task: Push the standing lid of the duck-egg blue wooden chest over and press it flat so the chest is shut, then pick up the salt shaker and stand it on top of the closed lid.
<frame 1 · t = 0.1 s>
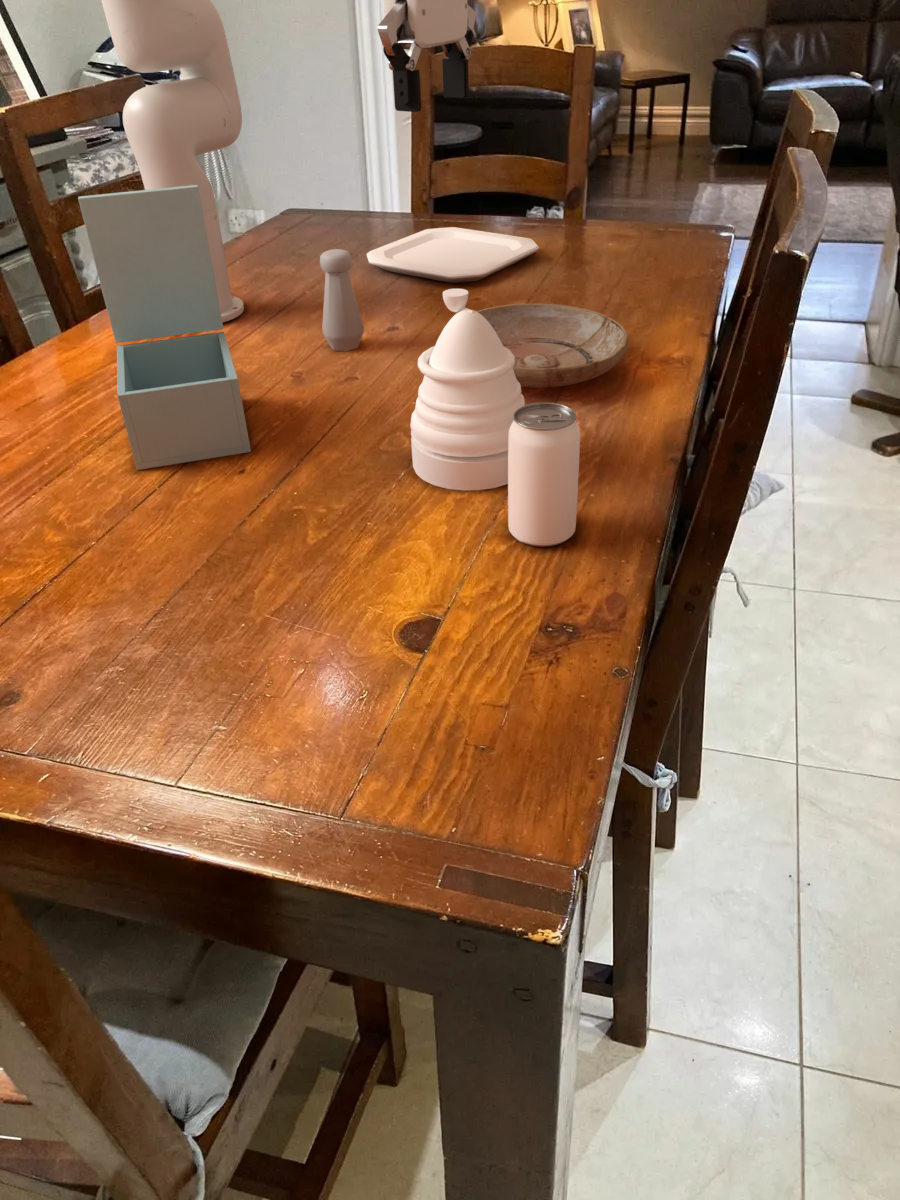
hand: (432, 104, 106), 31 cm above the table, tool pointing down, fingers open, 9 cm apart
salt shaker: (345, 347, 132), on the table
honey pot: (471, 463, 102), on the table
plate: (453, 263, 164), on the table
lid: (155, 266, 106), point 17 cm above the table, hinge at 85.0°
chest: (189, 432, 111), on the table
ceramic bowl: (536, 370, 123), on the table
can: (541, 532, 90), on the table
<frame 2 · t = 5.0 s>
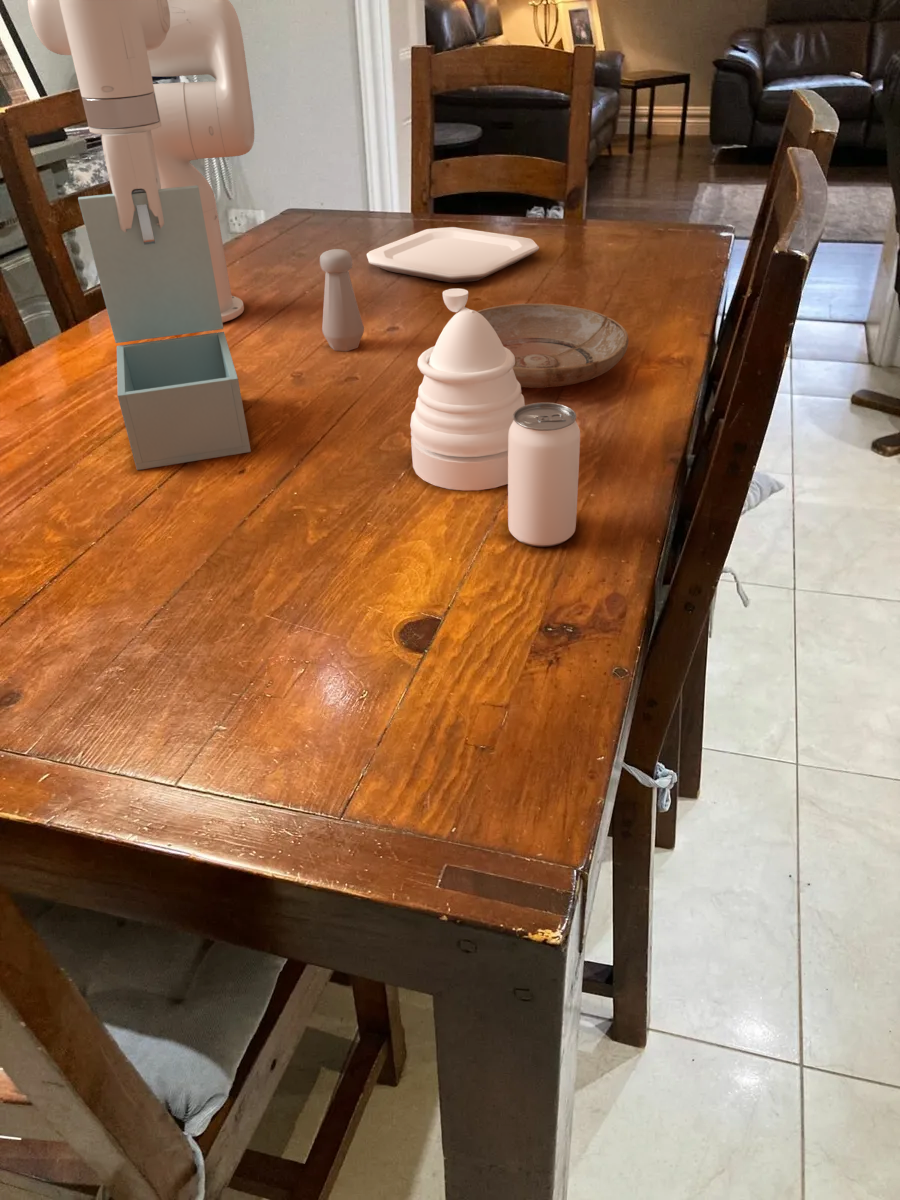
hand: (159, 286, 110), 14 cm above the table, tool pointing down, fingers closed
lid: (155, 267, 106), point 17 cm above the table, hinge at 84.2°, touching gripper
everything else where it was.
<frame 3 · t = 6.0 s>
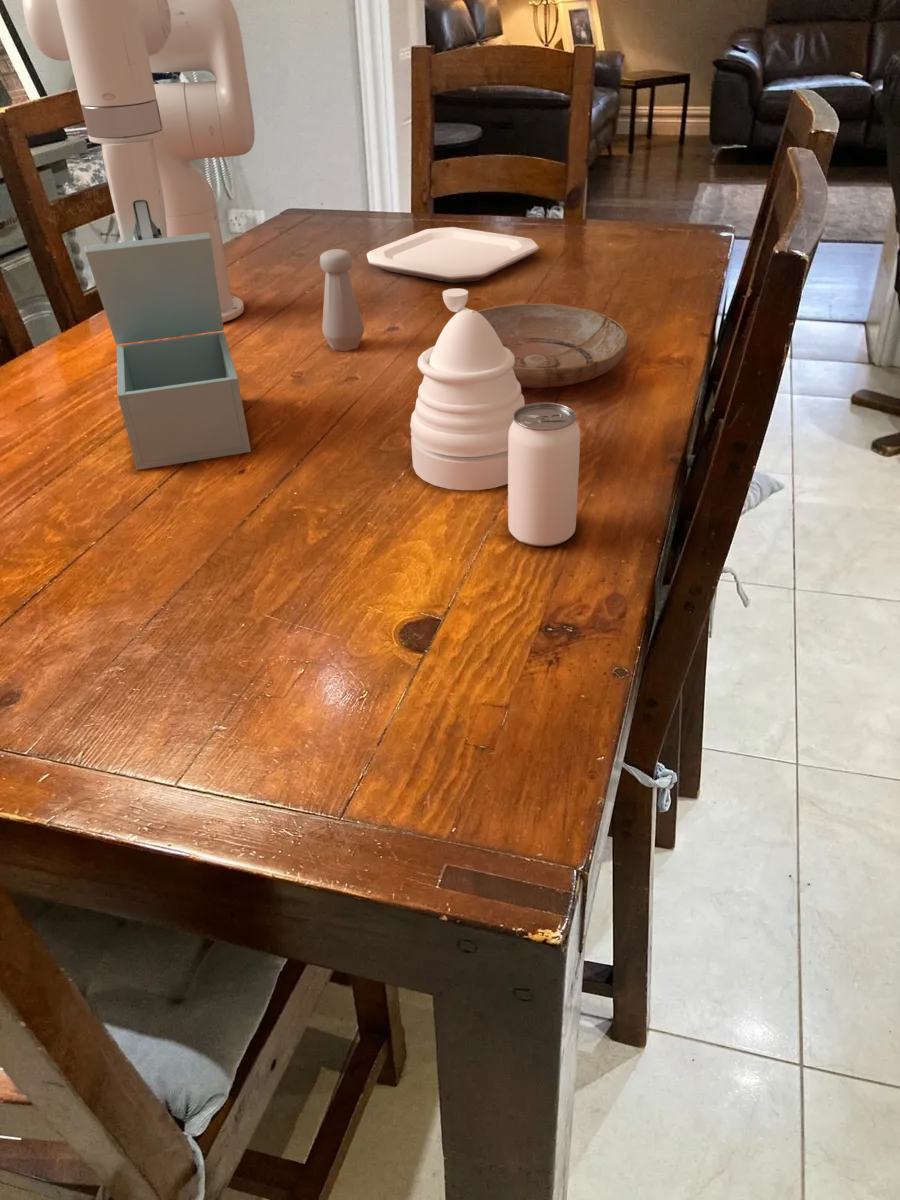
hand: (162, 299, 107), 14 cm above the table, tool pointing down, fingers closed
lid: (159, 291, 104), point 16 cm above the table, hinge at 52.9°, touching gripper
everything else where it was.
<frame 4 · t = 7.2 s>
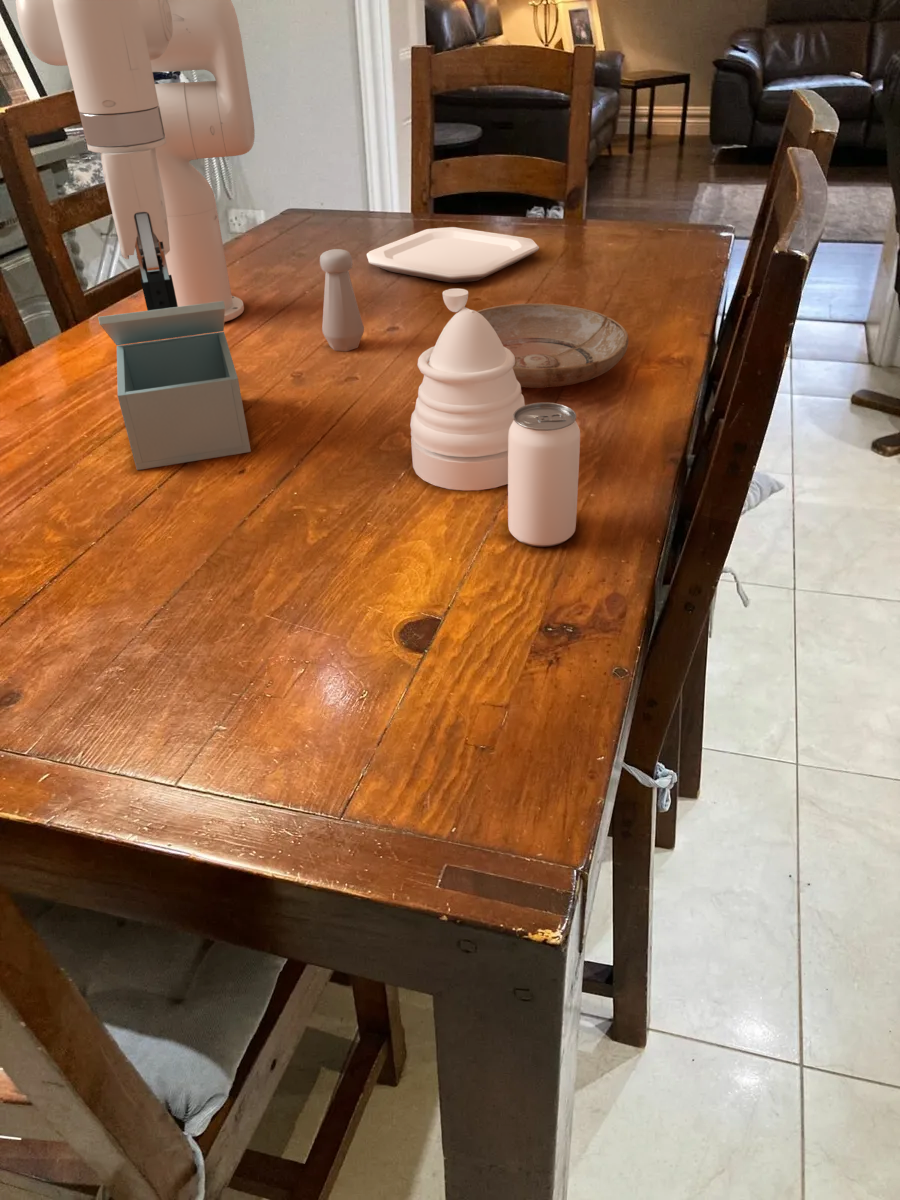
hand: (164, 315, 102), 14 cm above the table, tool pointing down, fingers closed
lid: (166, 324, 104), point 13 cm above the table, hinge at 26.3°
everything else where it was.
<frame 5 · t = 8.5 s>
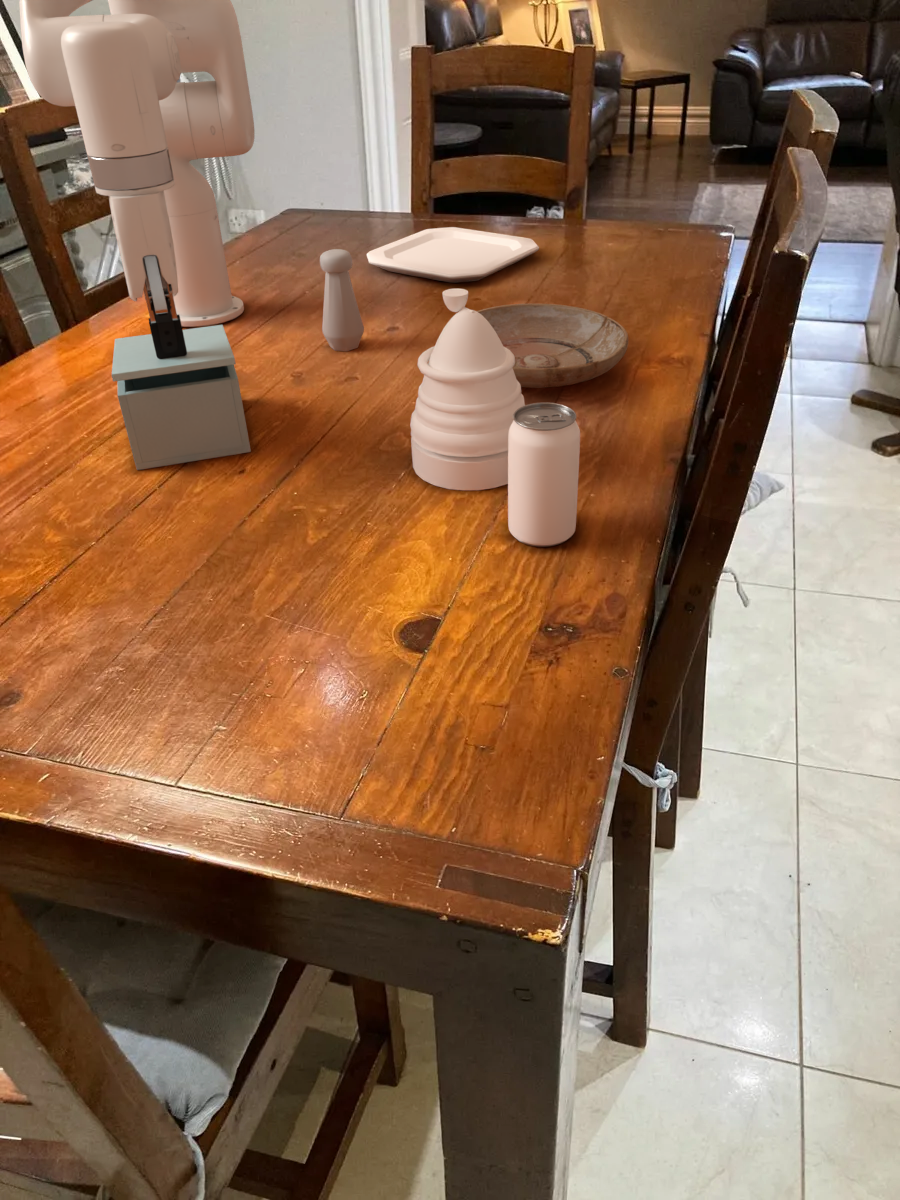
hand: (172, 354, 101), 11 cm above the table, tool pointing down, fingers closed
lid: (172, 350, 105), point 10 cm above the table, hinge at 6.2°, touching gripper
everything else where it was.
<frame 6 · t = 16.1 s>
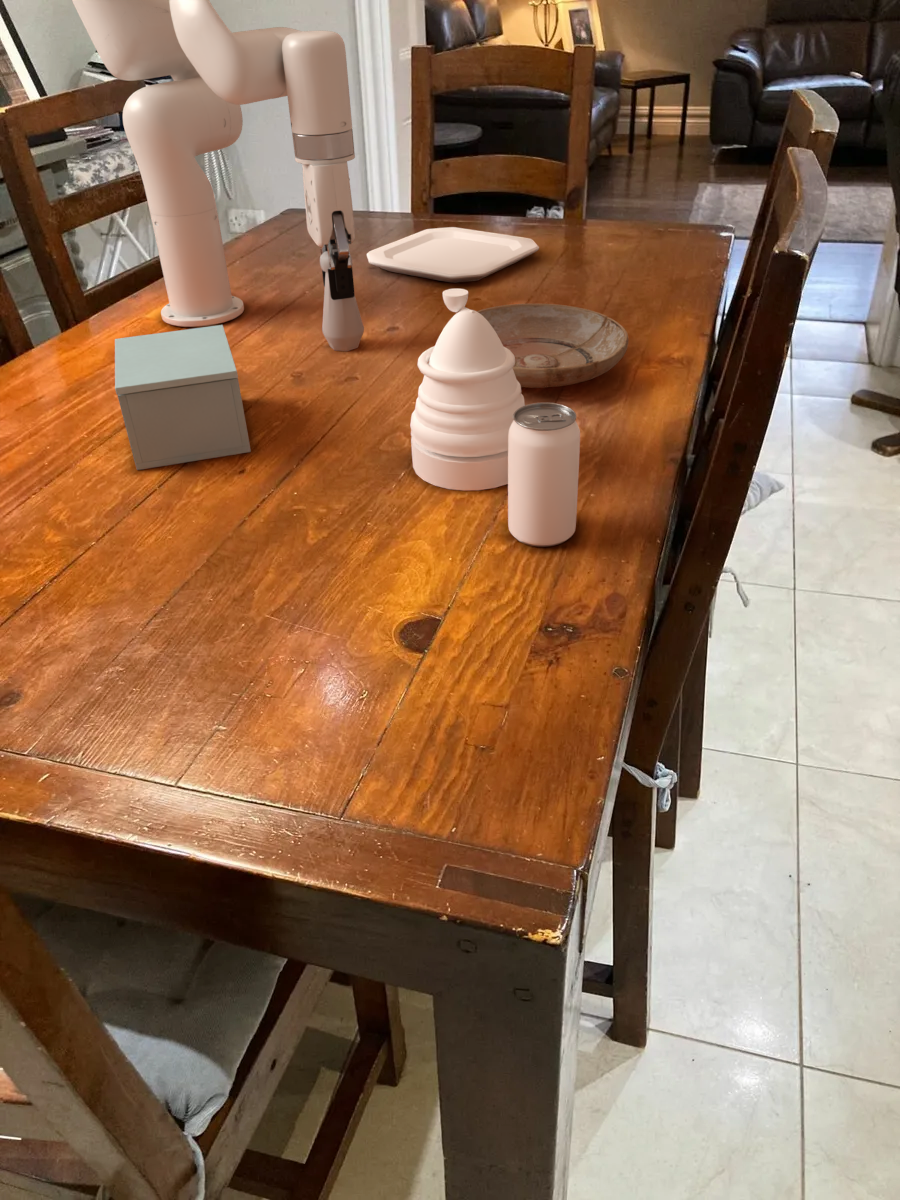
hand: (339, 291, 128), 8 cm above the table, tool pointing down, fingers closed on salt shaker, 4 cm apart
salt shaker: (345, 347, 132), on the table, touching gripper
lid: (173, 357, 105), point 9 cm above the table, hinge at 1.1°
everything else where it was.
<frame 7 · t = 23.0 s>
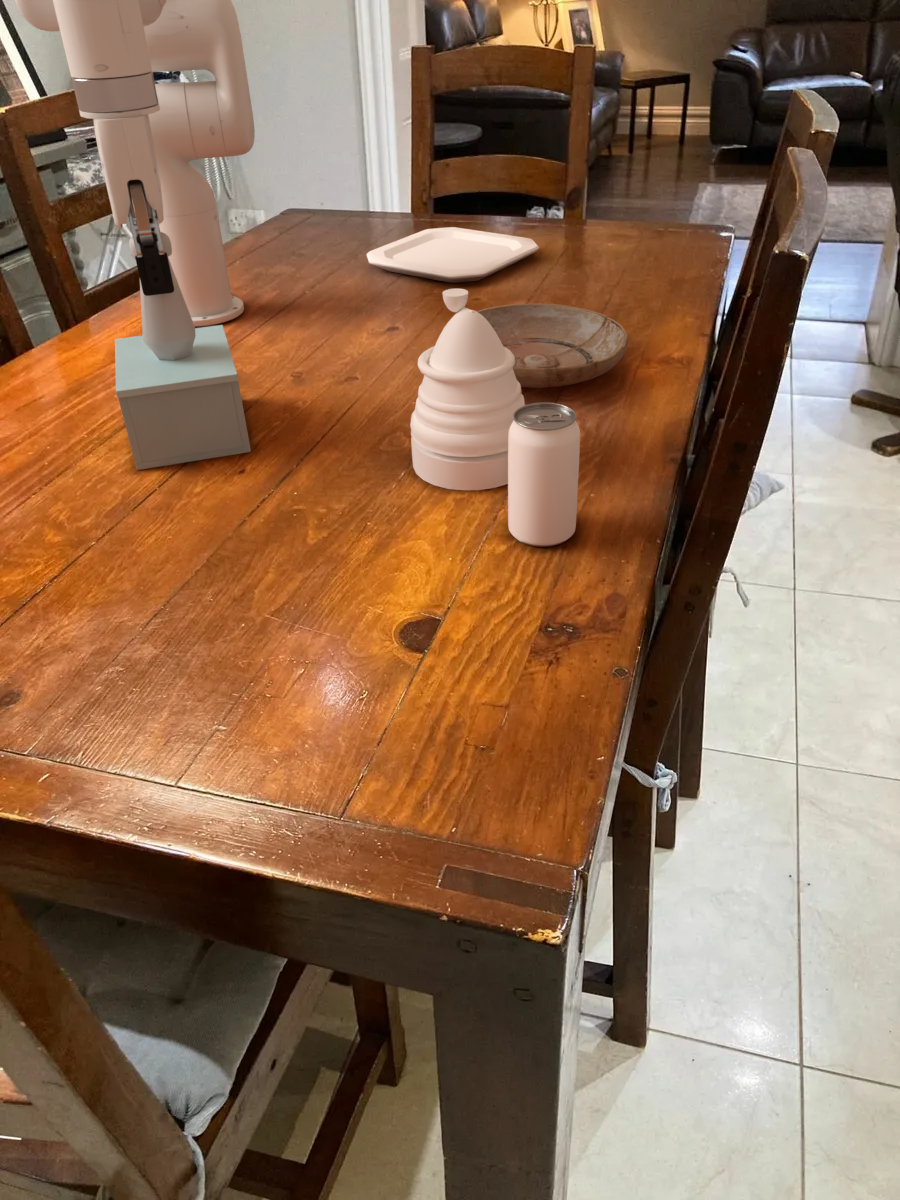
hand: (158, 284, 101), 17 cm above the table, tool pointing down, fingers closed on salt shaker, 4 cm apart
salt shaker: (174, 355, 105), point 9 cm above the table, touching gripper, lid
lid: (173, 358, 105), point 9 cm above the table, hinge at -0.1°, touching salt shaker
everything else where it was.
when the fingers open (17 cm above the table, at t = 23.1 s): salt shaker stays where it is, resting on lid.
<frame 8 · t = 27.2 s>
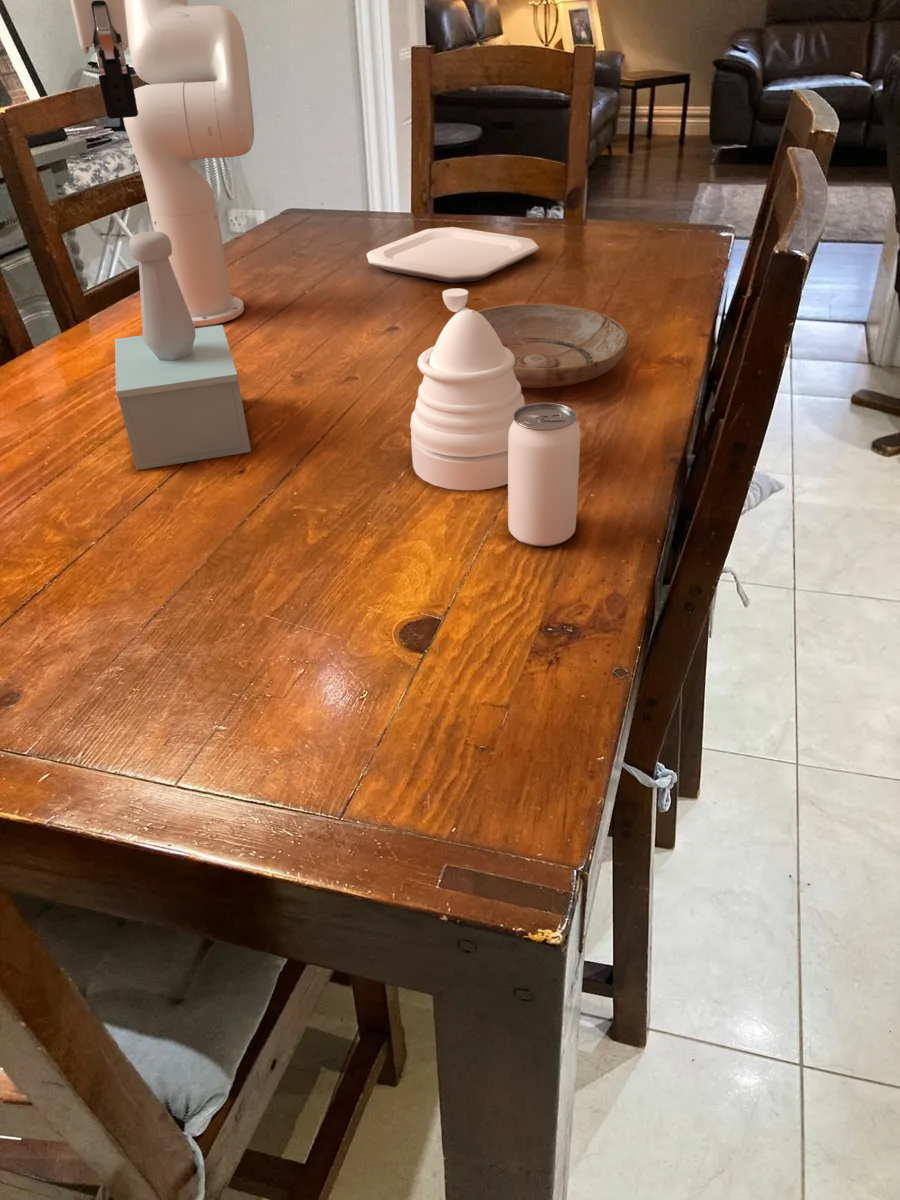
hand: (122, 110, 104), 32 cm above the table, tool pointing down, fingers open, 9 cm apart
salt shaker: (174, 355, 105), point 9 cm above the table, touching lid
everything else where it was.
at the end: lid at +0° (first picture: +85°); salt shaker inside the target area on the chest (0.1 cm from its centre), point 9.4 cm above the chest's base; salt shaker tilted 0° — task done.
